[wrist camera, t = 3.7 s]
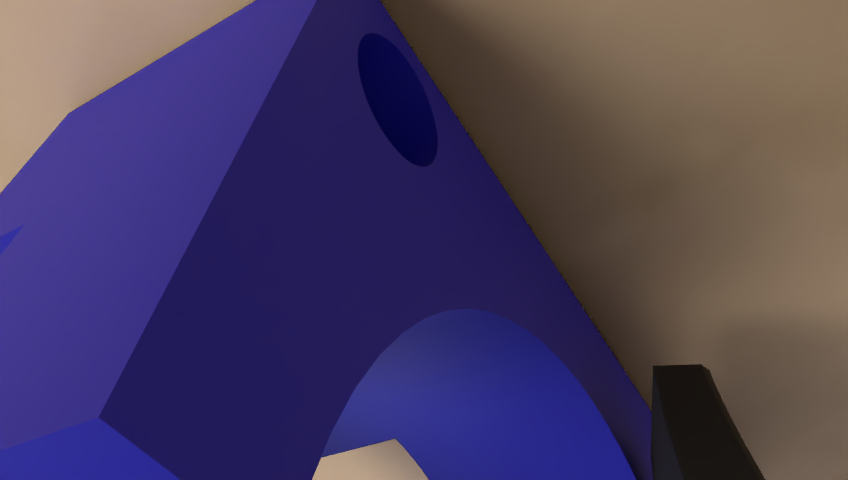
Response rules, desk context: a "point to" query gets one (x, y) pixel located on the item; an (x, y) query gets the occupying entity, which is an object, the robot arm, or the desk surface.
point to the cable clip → (290, 278)
